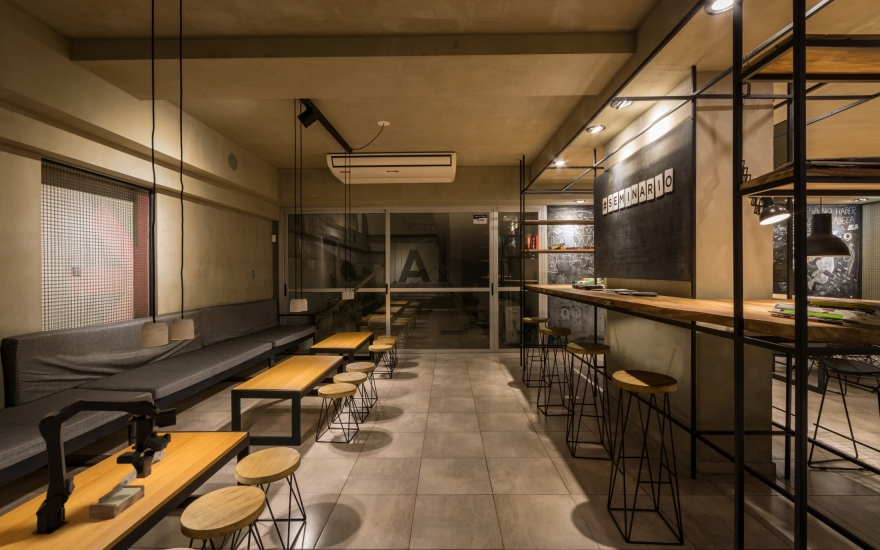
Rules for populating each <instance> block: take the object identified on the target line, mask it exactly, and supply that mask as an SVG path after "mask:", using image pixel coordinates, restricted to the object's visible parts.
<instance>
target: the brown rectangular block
mask: <svg viewBox="0 0 880 550" xmlns="http://www.w3.org/2000/svg"><path fill="white" fill-rule="evenodd" d="M151 475H152V464H151V456H147V457H146V458H145V459H144V460H143V470H142V473H141V474H138V472H136V478H135V479H146V478H148V477H149V476H151Z"/></svg>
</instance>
